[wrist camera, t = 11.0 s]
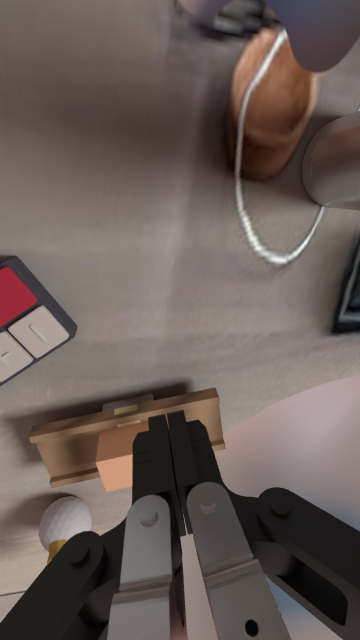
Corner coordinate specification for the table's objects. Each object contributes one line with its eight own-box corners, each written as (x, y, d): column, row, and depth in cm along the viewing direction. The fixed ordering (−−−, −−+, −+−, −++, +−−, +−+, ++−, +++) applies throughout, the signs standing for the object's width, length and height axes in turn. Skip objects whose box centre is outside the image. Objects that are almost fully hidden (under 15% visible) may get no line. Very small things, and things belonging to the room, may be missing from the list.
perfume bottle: (75, 479, 49) (58, 564, 38) (111, 513, 53) (105, 598, 42) (35, 501, 50) (7, 590, 39) (73, 532, 54) (58, 622, 43)
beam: (210, 375, 45) (218, 396, 40) (216, 424, 48) (225, 448, 44) (39, 411, 43) (28, 437, 39) (59, 458, 47) (51, 488, 42)
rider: (153, 419, 41) (155, 448, 37) (160, 448, 43) (163, 478, 39) (99, 431, 41) (95, 462, 36) (109, 459, 43) (106, 492, 38)
